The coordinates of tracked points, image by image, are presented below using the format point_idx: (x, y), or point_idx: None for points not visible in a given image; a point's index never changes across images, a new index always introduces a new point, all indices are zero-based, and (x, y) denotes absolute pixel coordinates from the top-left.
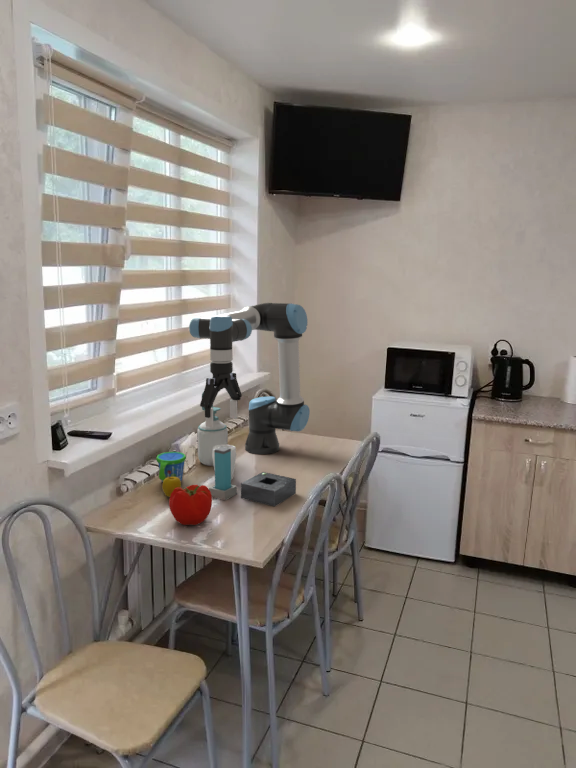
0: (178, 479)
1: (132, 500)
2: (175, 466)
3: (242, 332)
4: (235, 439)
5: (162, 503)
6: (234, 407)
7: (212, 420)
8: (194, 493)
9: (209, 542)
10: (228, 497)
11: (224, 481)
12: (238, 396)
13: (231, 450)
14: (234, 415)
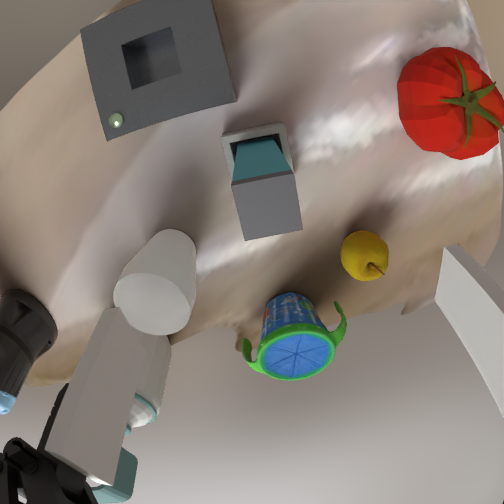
0: (362, 252)
1: (410, 278)
2: (308, 320)
3: None
4: (59, 374)
5: (394, 224)
6: (95, 401)
7: (483, 278)
8: (468, 93)
9: (452, 10)
10: (265, 125)
11: (274, 145)
12: (20, 473)
13: (143, 272)
14: (118, 339)
